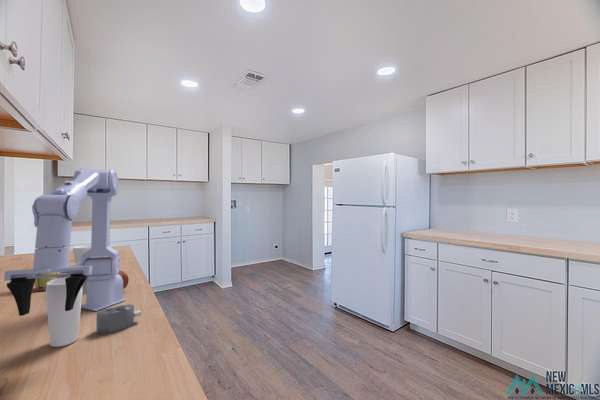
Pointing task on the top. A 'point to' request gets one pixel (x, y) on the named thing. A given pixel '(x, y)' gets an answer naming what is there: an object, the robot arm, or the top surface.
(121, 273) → the fruit
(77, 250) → the foam cup
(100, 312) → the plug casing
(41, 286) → the sauce bottle
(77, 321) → the drinking glass
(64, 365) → the top surface
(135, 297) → the top surface
